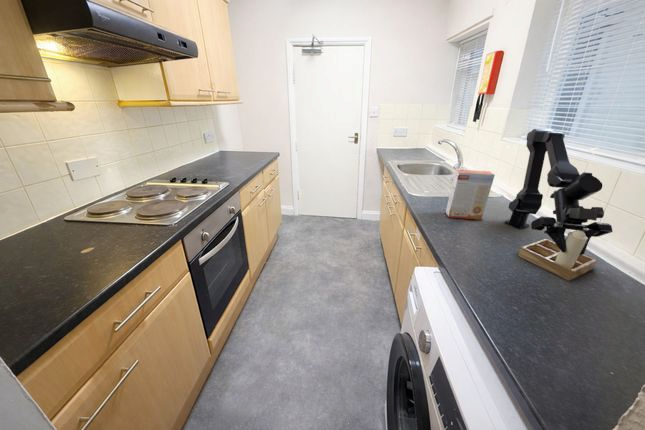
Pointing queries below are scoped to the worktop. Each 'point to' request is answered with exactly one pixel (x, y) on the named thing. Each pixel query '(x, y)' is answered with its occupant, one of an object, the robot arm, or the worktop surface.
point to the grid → (546, 255)
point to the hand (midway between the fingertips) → (572, 253)
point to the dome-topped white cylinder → (572, 248)
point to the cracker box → (469, 194)
